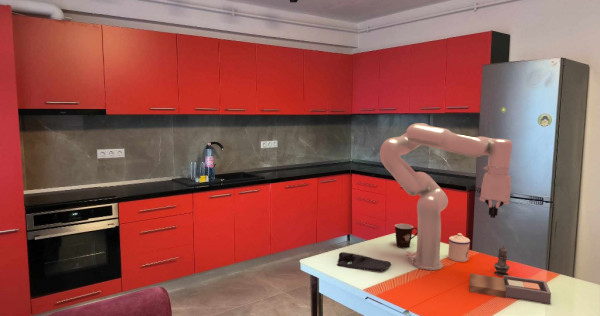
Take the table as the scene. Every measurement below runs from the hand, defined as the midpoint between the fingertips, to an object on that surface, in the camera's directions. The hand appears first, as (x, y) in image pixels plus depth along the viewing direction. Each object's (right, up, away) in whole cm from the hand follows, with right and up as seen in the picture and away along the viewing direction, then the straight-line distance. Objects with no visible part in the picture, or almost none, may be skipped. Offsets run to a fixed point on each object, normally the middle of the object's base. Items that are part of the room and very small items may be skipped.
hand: (492, 216), depth 160 cm
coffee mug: (-23, -21, +41) cm, 52 cm away
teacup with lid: (-3, -23, +27) cm, 35 cm away
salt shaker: (+8, -25, +8) cm, 27 cm away
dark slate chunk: (-48, -24, +18) cm, 56 cm away
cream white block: (+4, -26, -8) cm, 28 cm away
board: (-4, -26, -5) cm, 27 cm away
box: (+8, -27, -10) cm, 30 cm away
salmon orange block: (+9, -27, -10) cm, 30 cm away
